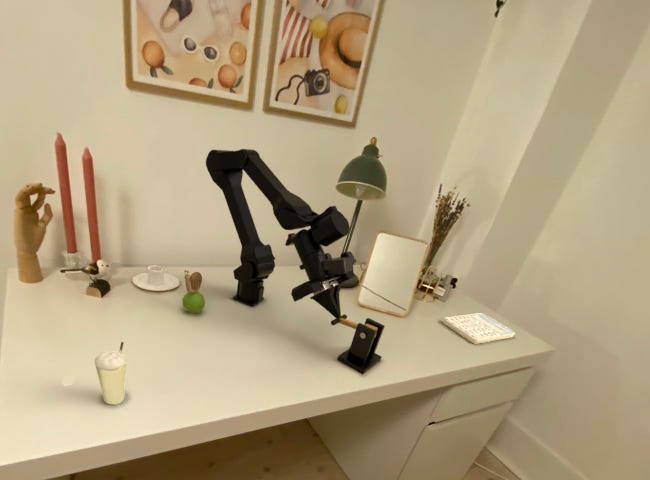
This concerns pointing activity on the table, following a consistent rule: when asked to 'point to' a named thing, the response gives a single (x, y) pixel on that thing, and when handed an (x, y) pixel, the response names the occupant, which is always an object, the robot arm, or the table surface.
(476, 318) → the calculator
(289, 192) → the robot arm
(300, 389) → the table surface
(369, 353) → the bracket
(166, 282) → the candle holder
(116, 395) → the milkshake
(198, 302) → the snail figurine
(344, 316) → the lever
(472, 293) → the table surface
